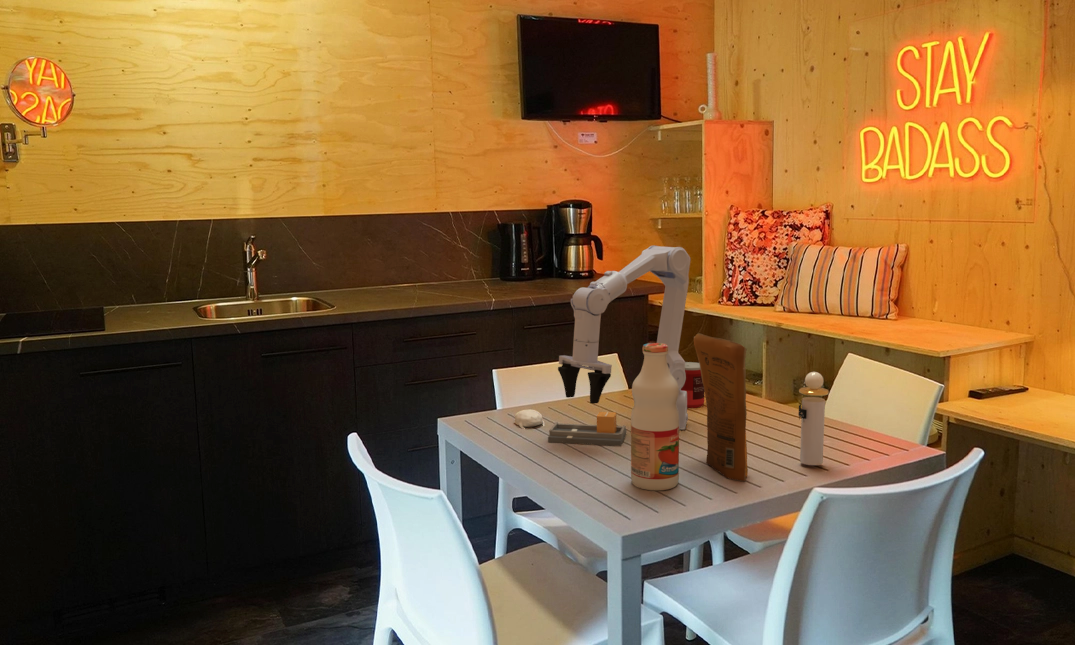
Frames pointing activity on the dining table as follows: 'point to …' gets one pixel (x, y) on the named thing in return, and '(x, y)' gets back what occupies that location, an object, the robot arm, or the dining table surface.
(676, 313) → the robot arm
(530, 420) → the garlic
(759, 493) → the dining table surface
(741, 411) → the pancake mix bag
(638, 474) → the fruit juice
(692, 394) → the canned food
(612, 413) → the fader tab
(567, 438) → the fader console
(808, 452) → the perfume bottle
